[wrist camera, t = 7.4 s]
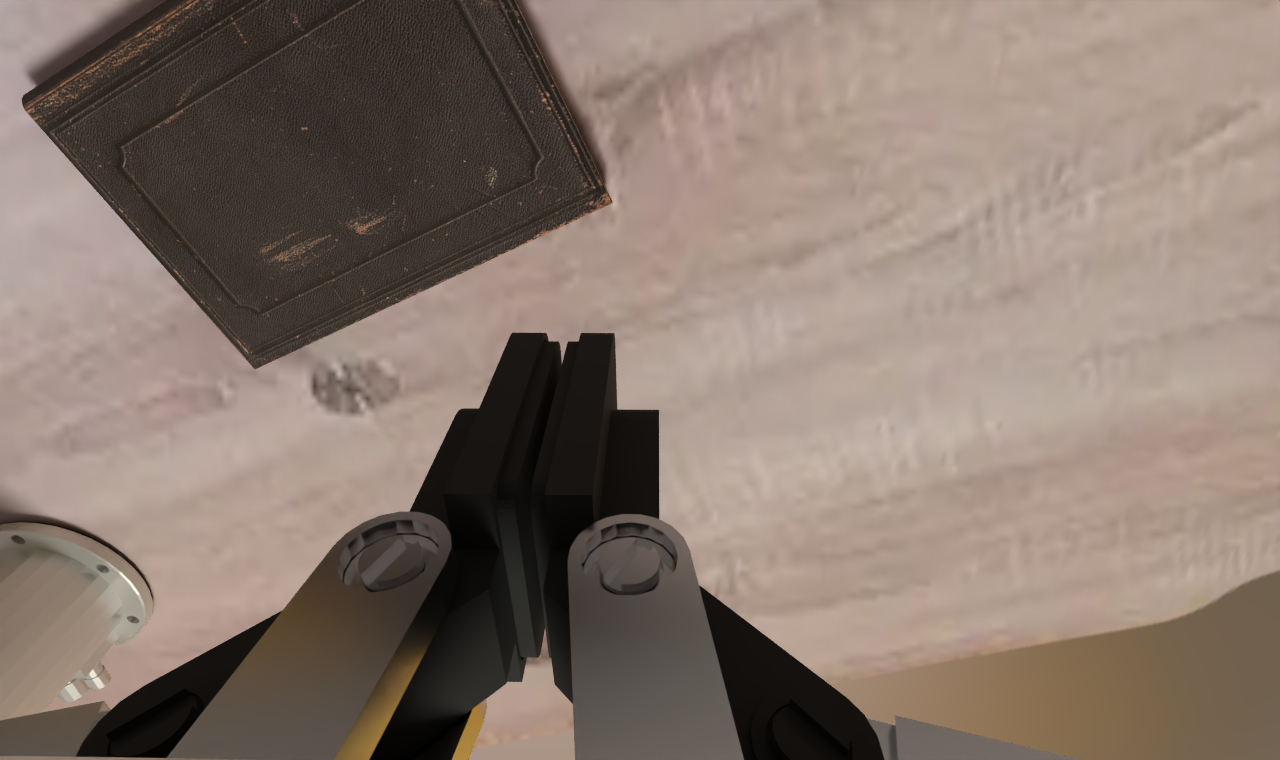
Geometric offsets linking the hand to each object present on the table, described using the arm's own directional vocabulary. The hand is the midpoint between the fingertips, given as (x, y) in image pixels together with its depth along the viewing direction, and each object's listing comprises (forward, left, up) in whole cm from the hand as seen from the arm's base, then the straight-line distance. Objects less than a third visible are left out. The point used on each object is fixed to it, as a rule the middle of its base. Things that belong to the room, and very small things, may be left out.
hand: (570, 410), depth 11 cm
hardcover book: (0, +14, -25) cm, 29 cm away
